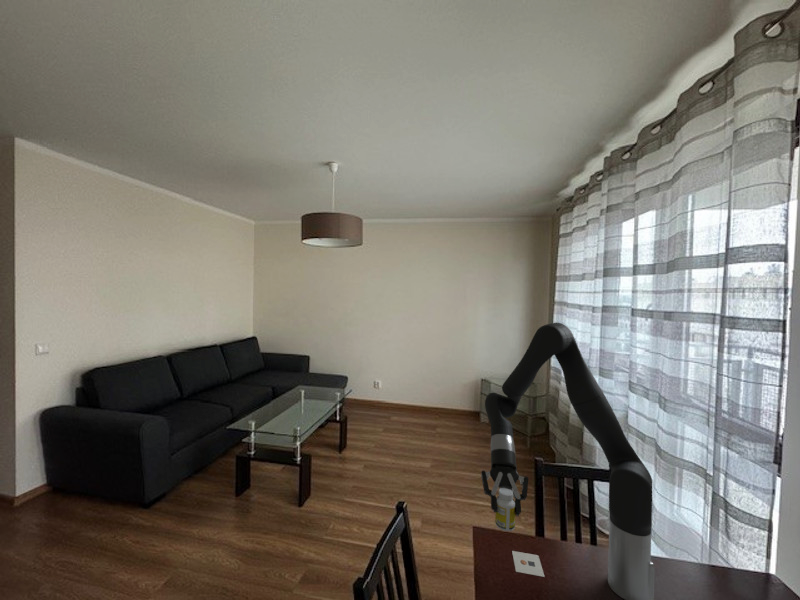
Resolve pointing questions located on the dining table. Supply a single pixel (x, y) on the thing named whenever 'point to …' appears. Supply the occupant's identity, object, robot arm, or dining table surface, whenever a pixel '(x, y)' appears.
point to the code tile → (527, 563)
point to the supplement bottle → (505, 510)
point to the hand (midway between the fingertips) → (506, 513)
